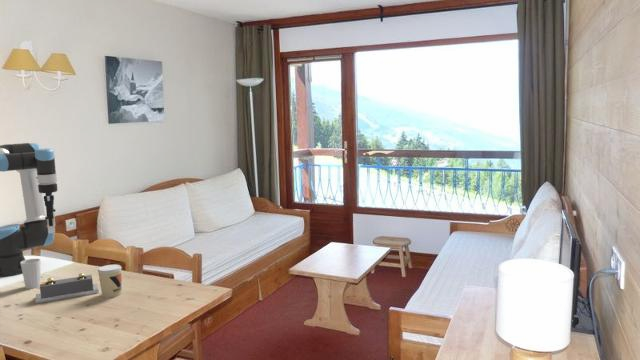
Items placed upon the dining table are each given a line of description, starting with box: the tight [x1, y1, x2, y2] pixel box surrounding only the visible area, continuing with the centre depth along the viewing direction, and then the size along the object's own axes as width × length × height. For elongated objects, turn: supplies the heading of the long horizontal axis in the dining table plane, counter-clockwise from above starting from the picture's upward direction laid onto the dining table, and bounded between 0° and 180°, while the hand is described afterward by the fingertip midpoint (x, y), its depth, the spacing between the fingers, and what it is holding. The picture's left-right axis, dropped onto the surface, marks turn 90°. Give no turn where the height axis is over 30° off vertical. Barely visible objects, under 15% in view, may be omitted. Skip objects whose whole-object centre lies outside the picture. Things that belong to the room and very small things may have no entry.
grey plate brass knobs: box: [35, 272, 99, 304], centre depth 219 cm, size 24×8×8 cm, turn 117°
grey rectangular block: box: [39, 274, 94, 298], centre depth 219 cm, size 20×6×6 cm, turn 117°
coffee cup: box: [97, 264, 123, 298], centre depth 218 cm, size 9×9×12 cm
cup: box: [20, 258, 42, 290], centre depth 232 cm, size 8×8×12 cm
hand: (51, 229), depth 231 cm, fingers open, 13 cm apart
